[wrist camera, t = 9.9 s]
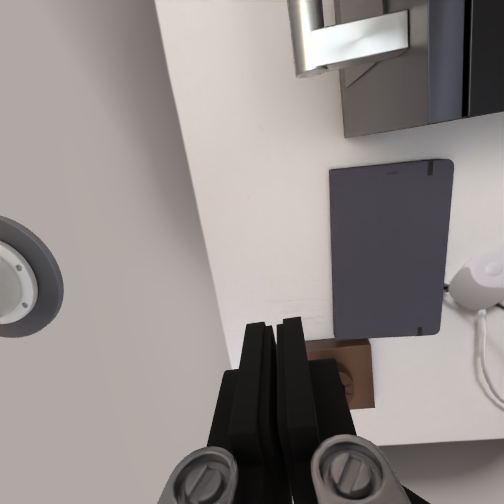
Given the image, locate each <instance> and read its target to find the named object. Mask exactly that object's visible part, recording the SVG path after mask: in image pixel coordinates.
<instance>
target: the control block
mask: <svg viewBox="0 0 504 504" xmlns="http://www.w3.org/2000/svg"><path fill="white" fill-rule="evenodd" d="M305 345H306V351H307V356H308V360H316V359H324V358H332V357H334V358H335V361H336V364H337V367H338V371H339V374H340V378H341V381H342V385H343V389H344V392H345V396H346V399H347V403H348V406H349V410H351V409H364V408H375V401H374V387H373V372H372V357H371V344H370V342H369V340H368V338H362V339H342V340H336V339H335V338H333V339H323V340H314V341H305ZM276 347H277V344H276Z"/></svg>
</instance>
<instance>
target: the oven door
mask: <svg viewBox="0 0 504 504" xmlns="http://www.w3.org/2000/svg"><path fill="white" fill-rule="evenodd" d="M287 3H288V12H289V21H290V29H291V38H292V47H293V55H294V64H295V73H296V77H297V78H307V77H312V76H316V75H319V74H322V73H324V72H327V71H332V70H337V69H339V72H340V84H341V97H342V110H343V123H344V136H345V138H350V137H356V136H363V135H369V134H375V133H381V132H387V131H393V130H399V129H406V128H412V127H418V126H424V125H430V124H436V123H441V122H447V121H452V120H458V119H462V95H463V55H464V16H465V0H334V8H335V20H336V25H332V26H327V27H324V19H323V8H322V0H287Z"/></svg>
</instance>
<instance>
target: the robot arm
mask: <svg viewBox="0 0 504 504" xmlns="http://www.w3.org/2000/svg"><path fill="white" fill-rule="evenodd" d="M37 297H38V285H37V280H36V277H35V274H34V272H33V270H32V268H31V266H30V265H29V263H28V262H27V261H26V260H25V258H24V257H23V256H22V255H21V254H20V253H19V252H18V251H17V250H15V249H14V248H12V247H11V246H10V245H8V244H6V243H4V242H2V241H0V324H8V323H12V322H15V321H17V320H20V319H21V318H23V317H24V316H26V315H27V314H28V313H29V312H30V311H31V310H32V309H33V307H34V306H35V304H36V301H37ZM292 496H293V501H294V504H430V503H428V502H427V501H425V500H424V499H422V498H421V497H419V496H418V495H416V494H415V493H413V492H412V491H410V490H409V489H407V488H406V487H404V486H403V485H401V483H400V481H399V479H398V477H397V476H396V474H395V472H394V471H393V468H392V466H391V464H390V463H389V461H388V459H387V458H386V456H385V455H384V454H383V452H382V451H381V449H379V448H378V447H377V446H376V445H375V444H373V443H372V442H371V441H369V440H366V439H364V438H362V437H360V436H357V434H356V431H355V427H354V424H353V420H352V417H351V413H350V410H349V406H348V403H347V399H346V396H345V392H344V389H343V385H342V381H341V378H340V374H339V371H338V367H337V364H336V361H335V358H334V357H332V358H324V359H316V360H308V356H307V351H306V345H305V339H304V333H303V327H302V322H301V317H294V318H286V319H283V324H278V325H277V347H276V343H275V338H274V333H273V328H272V325H271V326H266V325H265V322H258V323H251V324H247V325H246V330H245V336H244V341H243V347H242V353H241V359H240V365H239V369H234V370H226V371H225V372H224V375H223V378H222V383H221V387H220V391H219V396H218V400H217V404H216V409H215V413H214V417H213V421H212V426H211V430H210V435H209V438H208V443H207V447H204V448H201V449H198V450H196V451H193V452H192V453H190V454H189V455H187V456H186V457H185V458H184V459H183V460H182V461H181V462H180V463H179V464H178V465H177V466H176V467H175V469H174V470H173V472H172V474H171V475H170V477H169V479H168V481H167V483H166V486H165V488H164V490H163V492H162V494H161V497H160V498H159V501H158V503H157V504H292Z"/></svg>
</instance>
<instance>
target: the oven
mask: <svg viewBox="0 0 504 504" xmlns="http://www.w3.org/2000/svg"><path fill="white" fill-rule="evenodd" d="M503 111H504V0H465V16H464V55H463V95H462V119H463V118H469V117H475V116H481V115H486V114H492V113H498V112H503Z"/></svg>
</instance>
